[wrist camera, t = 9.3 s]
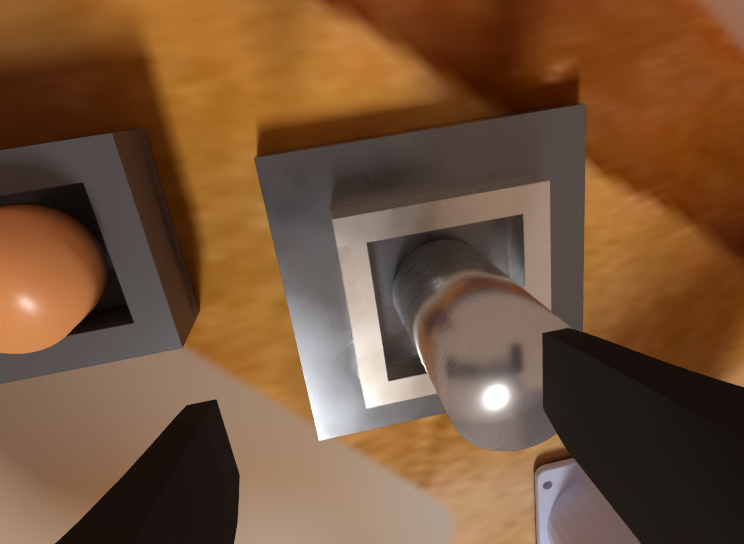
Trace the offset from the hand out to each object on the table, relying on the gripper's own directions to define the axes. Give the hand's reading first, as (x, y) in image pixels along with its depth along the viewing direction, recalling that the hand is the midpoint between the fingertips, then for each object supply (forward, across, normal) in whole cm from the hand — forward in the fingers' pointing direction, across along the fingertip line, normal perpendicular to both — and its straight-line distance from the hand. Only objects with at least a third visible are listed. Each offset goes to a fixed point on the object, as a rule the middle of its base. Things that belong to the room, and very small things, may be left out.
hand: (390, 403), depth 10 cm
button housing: (+9, +10, -3) cm, 14 cm away
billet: (+8, -4, +1) cm, 9 cm away
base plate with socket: (+9, -4, +1) cm, 10 cm away
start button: (+7, +10, -3) cm, 12 cm away
